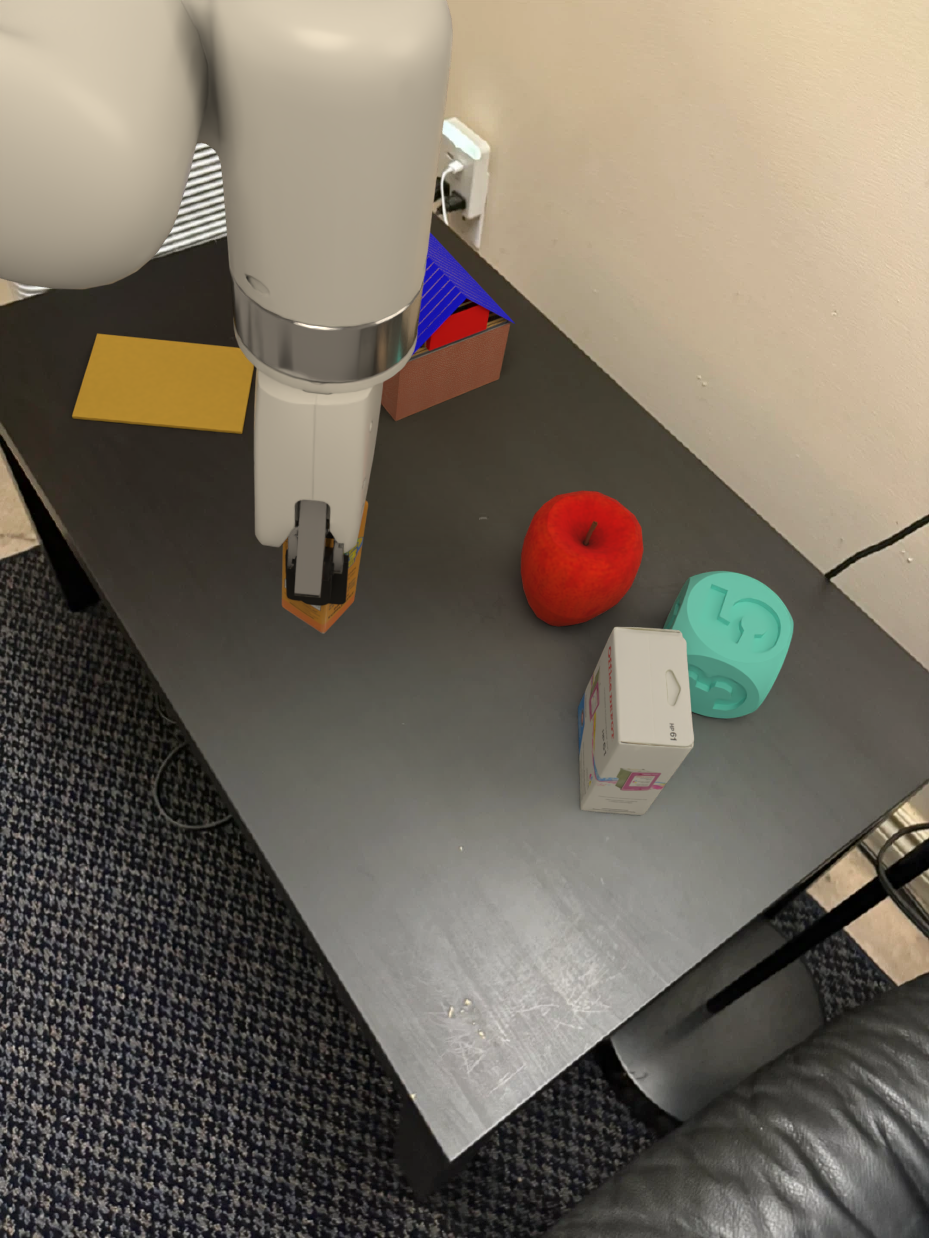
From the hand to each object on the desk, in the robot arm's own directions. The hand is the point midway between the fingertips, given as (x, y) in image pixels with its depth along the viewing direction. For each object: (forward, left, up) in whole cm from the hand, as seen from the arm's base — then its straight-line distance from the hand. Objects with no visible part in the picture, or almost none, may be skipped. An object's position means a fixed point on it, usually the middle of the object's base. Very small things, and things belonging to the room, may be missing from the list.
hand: (321, 559), depth 54 cm
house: (+3, +40, -19) cm, 44 cm away
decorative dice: (+29, +6, -19) cm, 35 cm away
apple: (+18, +11, -19) cm, 28 cm away
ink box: (+21, -2, -19) cm, 28 cm away
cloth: (-16, +31, -19) cm, 39 cm away
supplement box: (0, 0, -5) cm, 5 cm away
